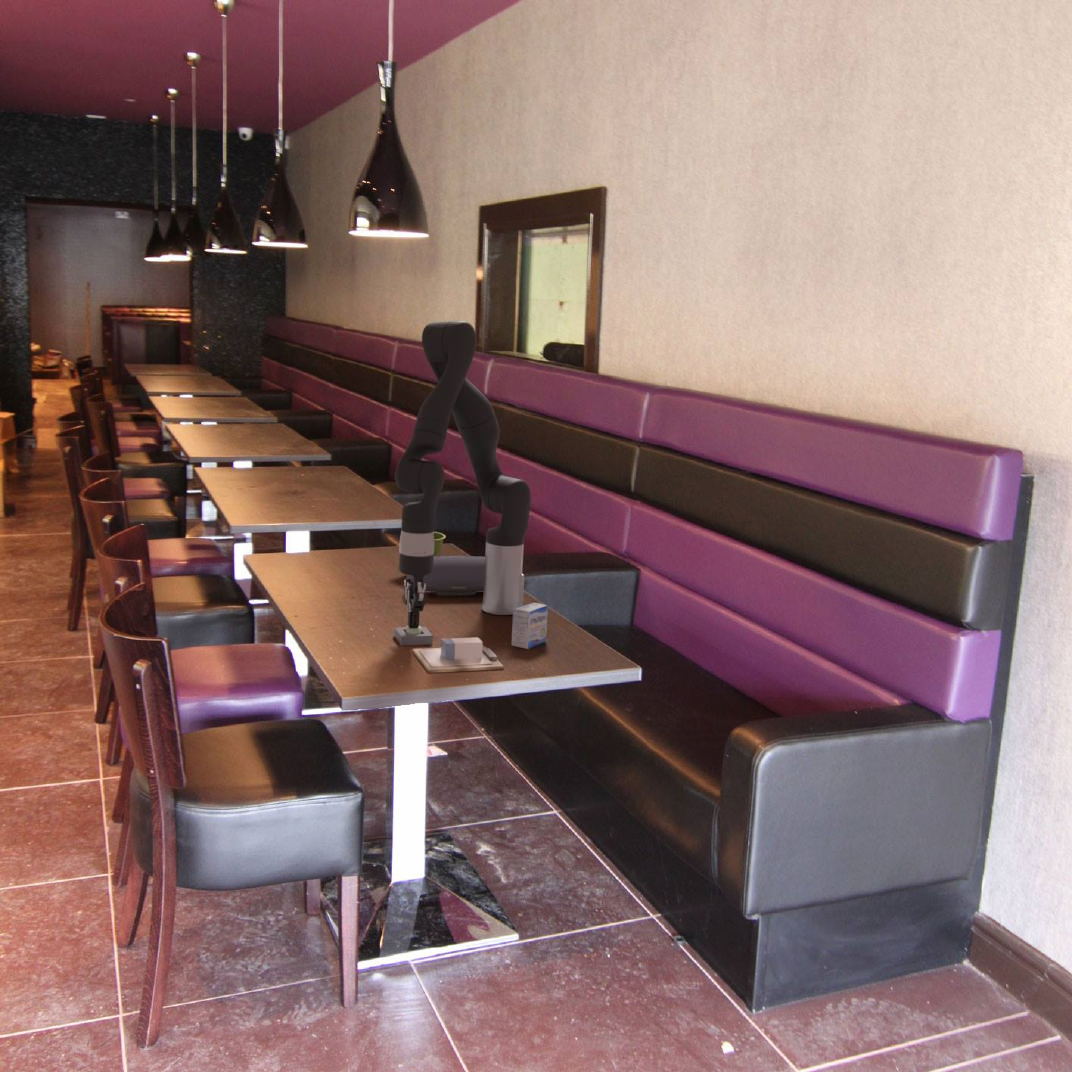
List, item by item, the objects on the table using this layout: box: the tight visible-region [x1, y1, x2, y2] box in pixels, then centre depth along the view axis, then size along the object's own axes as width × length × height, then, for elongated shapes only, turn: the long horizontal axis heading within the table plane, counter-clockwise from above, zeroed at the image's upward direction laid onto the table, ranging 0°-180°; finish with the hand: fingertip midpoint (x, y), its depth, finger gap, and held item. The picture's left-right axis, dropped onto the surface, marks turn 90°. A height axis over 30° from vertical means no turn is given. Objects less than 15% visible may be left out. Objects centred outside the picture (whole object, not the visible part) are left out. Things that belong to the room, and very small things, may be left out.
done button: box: [405, 625, 423, 635], centre depth 247 cm, size 3×3×3 cm
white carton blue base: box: [440, 636, 484, 660], centre depth 235 cm, size 8×4×4 cm, turn 109°
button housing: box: [393, 626, 434, 647], centre depth 247 cm, size 7×7×2 cm
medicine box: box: [511, 602, 549, 650], centre depth 250 cm, size 8×4×9 cm, turn 148°
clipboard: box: [412, 645, 505, 674], centre depth 236 cm, size 16×14×1 cm
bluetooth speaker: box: [424, 555, 485, 596], centre depth 288 cm, size 23×9×10 cm, turn 106°
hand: (413, 627), depth 247 cm, fingers closed
